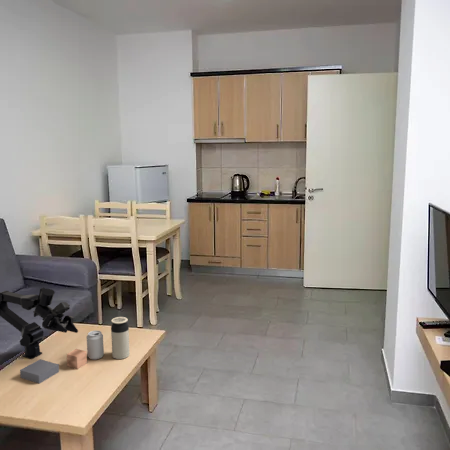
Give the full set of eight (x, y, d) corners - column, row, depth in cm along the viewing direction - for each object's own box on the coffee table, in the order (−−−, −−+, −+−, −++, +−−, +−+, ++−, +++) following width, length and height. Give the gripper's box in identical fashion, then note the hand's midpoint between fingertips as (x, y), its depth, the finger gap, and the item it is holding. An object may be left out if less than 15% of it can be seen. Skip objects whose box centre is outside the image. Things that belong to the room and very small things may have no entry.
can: (99, 361, 212) (98, 336, 210) (84, 359, 214) (83, 335, 212) (106, 353, 219) (105, 330, 217) (92, 352, 221) (91, 328, 219)
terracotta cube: (67, 366, 207) (66, 354, 206) (77, 360, 213) (76, 348, 212) (77, 369, 205) (76, 356, 204) (87, 363, 210) (86, 351, 209)
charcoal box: (20, 378, 197) (19, 369, 196) (40, 367, 207) (40, 359, 206) (39, 384, 192) (38, 375, 192) (59, 372, 202) (58, 364, 202)
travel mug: (128, 359, 214) (127, 322, 211) (111, 359, 213) (109, 323, 210) (130, 351, 222) (129, 316, 219) (113, 352, 221) (112, 316, 218)
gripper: (45, 296, 201) (71, 315, 196) (67, 299, 219) (92, 316, 214) (30, 318, 200) (56, 337, 195) (55, 319, 218) (79, 337, 213)
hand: (72, 331), depth 205 cm, fingers open, 9 cm apart
